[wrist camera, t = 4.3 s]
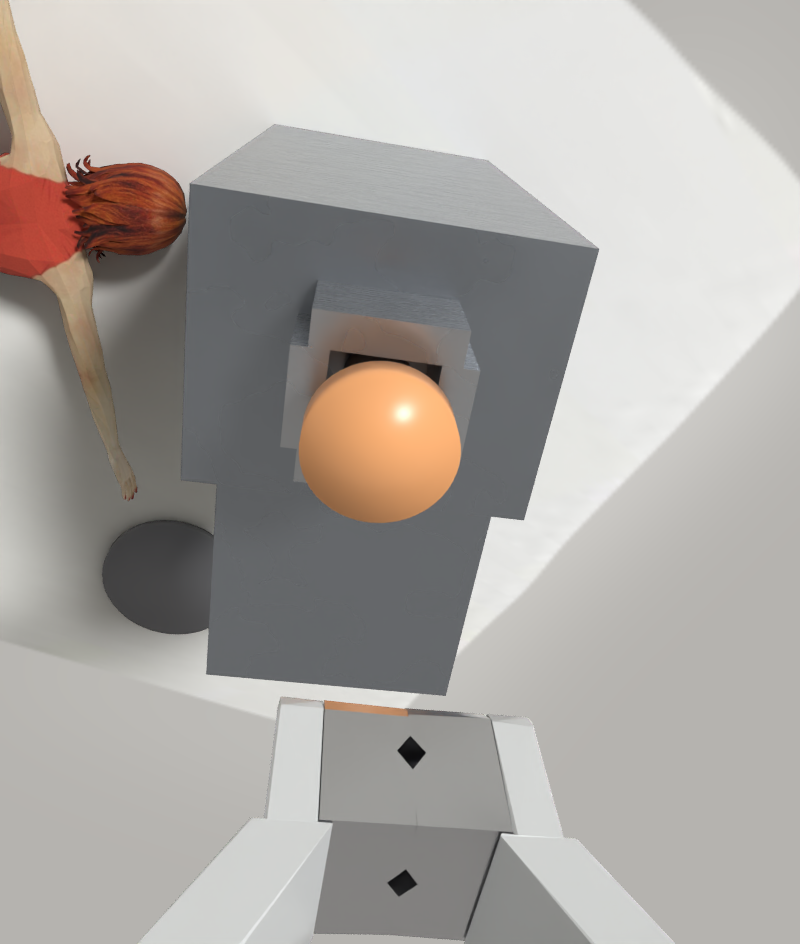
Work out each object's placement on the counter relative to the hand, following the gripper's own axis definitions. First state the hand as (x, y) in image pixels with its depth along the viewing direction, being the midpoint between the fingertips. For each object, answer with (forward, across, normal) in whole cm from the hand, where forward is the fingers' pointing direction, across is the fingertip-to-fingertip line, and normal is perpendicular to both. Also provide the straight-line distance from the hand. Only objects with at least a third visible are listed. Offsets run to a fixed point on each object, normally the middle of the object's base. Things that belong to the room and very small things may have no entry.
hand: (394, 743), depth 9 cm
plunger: (+12, 0, 0) cm, 12 cm away
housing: (+32, 0, -4) cm, 32 cm away
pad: (+32, -9, -22) cm, 40 cm away
